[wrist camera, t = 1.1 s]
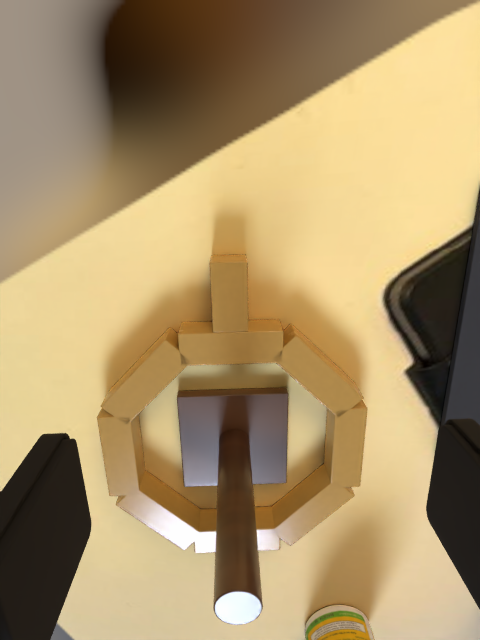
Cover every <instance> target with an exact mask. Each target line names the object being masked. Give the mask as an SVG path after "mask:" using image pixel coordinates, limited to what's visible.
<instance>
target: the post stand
mask: <svg viewBox="0 0 480 640" xmlns="http://www.w3.org/2000/svg"><path fill="white" fill-rule="evenodd" d="M177 404H178V416H179V428H180V441H181V453H182V465H183V477H184V486H185V487H191V486H217V517H216V548H215V579H214V612H215V614H216V616H217V617H218V618H219V619H220V620H222V621H223V622H226V623H229V624H234V625H240V624H246V623H249V622H251V621H253V620H255V619H256V618H257V617H258V616H259V615H260V613H261V611H262V607H263V604H262V592H261V580H260V567H259V555H258V542H257V530H256V517H255V505H254V493H253V484H272V483H286V478H287V430H288V391H287V388H286V387H285V388H254V389H223V390H192V391H178V395H177Z"/></svg>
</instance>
